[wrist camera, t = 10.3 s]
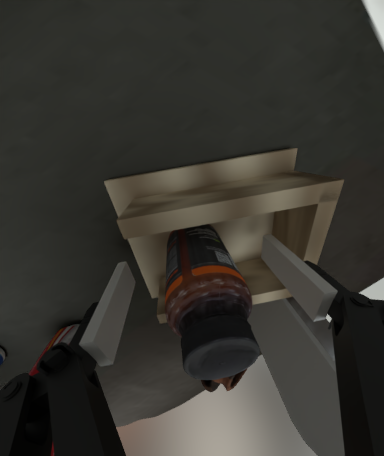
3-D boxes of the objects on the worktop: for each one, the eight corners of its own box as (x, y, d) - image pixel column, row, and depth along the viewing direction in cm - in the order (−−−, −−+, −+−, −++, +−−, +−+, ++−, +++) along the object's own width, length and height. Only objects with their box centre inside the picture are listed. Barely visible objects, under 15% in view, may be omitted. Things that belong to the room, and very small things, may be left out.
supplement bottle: (170, 264, 19) (168, 397, 9) (163, 220, 16) (148, 341, 6) (217, 258, 19) (267, 378, 9) (219, 215, 16) (293, 318, 6)
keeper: (152, 292, 22) (137, 406, 12) (107, 179, 14) (-29, 241, 5) (272, 268, 22) (349, 359, 13) (290, 148, 15) (508, 145, 5)
